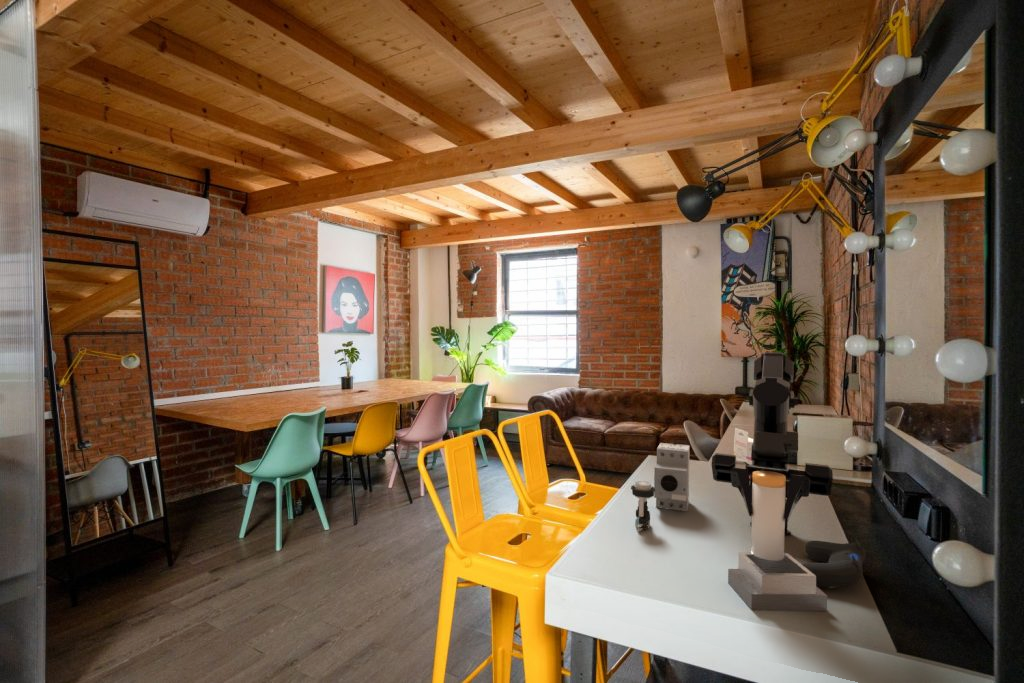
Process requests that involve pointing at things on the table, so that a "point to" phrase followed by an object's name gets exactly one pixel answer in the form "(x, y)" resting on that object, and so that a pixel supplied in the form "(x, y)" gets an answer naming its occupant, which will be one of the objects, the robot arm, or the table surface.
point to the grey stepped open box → (776, 584)
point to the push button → (642, 503)
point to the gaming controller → (835, 563)
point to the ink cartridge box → (742, 446)
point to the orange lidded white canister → (768, 515)
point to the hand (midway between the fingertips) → (767, 517)
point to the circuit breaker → (672, 476)
